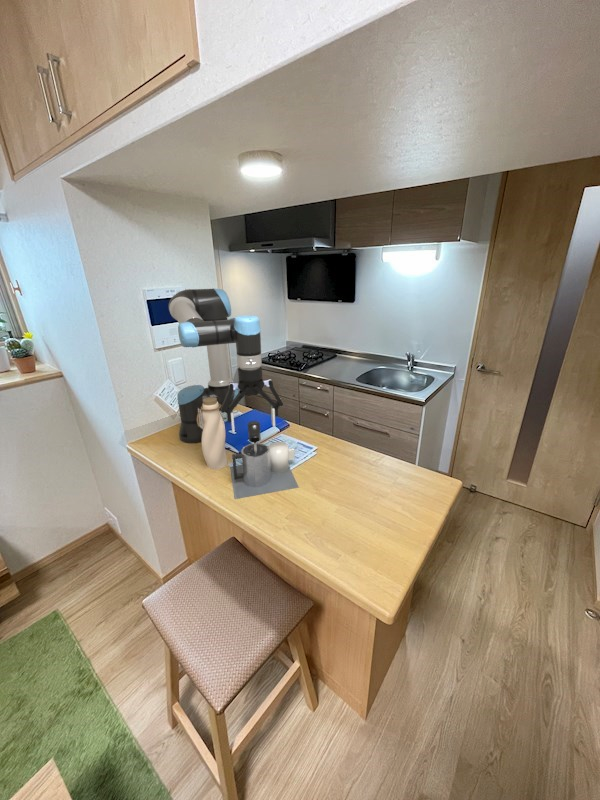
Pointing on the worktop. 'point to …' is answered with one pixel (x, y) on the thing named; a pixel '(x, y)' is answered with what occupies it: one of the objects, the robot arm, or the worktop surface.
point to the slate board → (276, 484)
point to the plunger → (254, 434)
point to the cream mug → (280, 457)
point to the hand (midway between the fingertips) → (253, 427)
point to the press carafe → (254, 465)
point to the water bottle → (212, 433)
